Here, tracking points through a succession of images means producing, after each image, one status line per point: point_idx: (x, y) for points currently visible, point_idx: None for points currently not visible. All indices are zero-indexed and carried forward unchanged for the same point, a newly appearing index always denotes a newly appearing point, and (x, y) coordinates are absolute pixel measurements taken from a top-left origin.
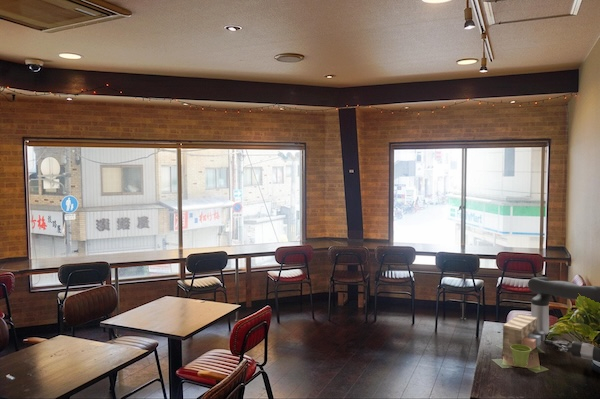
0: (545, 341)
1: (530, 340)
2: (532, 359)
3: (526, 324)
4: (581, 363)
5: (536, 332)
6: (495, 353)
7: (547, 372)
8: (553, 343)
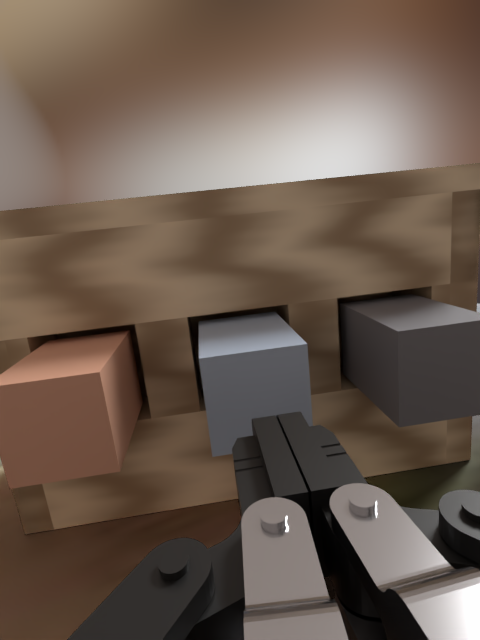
0: (254, 436)
1: (26, 368)
2: (102, 587)
3: (147, 197)
4: None
5: (369, 312)
6: None
7: None
8: (148, 555)
